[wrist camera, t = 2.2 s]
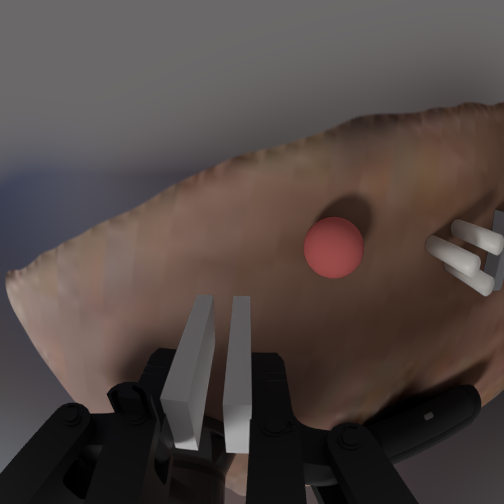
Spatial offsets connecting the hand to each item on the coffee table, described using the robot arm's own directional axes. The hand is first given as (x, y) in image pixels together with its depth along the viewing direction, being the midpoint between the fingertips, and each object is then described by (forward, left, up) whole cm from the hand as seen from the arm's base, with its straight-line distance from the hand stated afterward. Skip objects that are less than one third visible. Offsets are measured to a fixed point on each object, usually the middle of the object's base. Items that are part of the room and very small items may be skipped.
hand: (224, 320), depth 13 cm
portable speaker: (+34, -34, -17) cm, 51 cm away
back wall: (+39, 0, -16) cm, 43 cm away
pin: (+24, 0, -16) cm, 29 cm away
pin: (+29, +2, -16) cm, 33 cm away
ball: (+9, 0, -13) cm, 16 cm away
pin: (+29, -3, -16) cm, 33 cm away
